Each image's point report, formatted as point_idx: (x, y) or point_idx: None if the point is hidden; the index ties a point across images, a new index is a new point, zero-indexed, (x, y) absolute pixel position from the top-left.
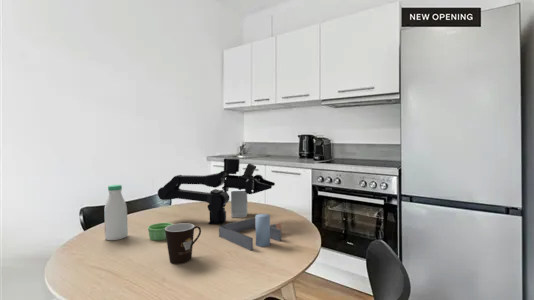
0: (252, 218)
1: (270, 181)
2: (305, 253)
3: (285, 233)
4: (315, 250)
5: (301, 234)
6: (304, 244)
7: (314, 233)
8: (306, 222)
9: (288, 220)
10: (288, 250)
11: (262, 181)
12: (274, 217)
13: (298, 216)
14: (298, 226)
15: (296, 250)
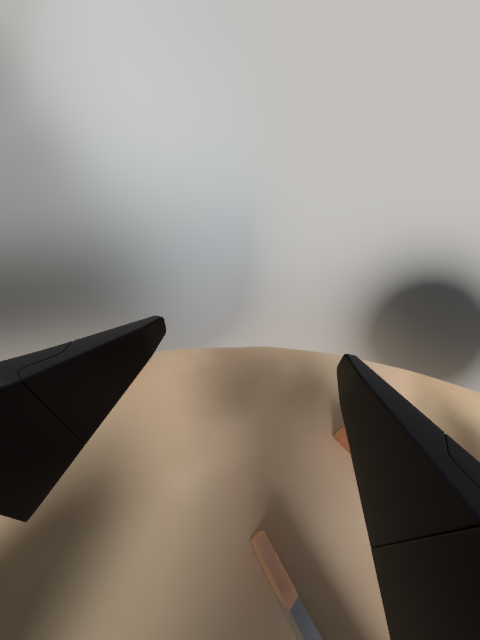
0: (311, 631)
1: (116, 329)
2: (458, 397)
3: (334, 419)
4: (424, 375)
5: (330, 379)
6: (401, 387)
7: (315, 353)
8: (230, 349)
9: (198, 387)
10: (474, 435)
11: (9, 421)
12: (135, 431)
13: (167, 354)
14: (263, 372)
15: (456, 413)
